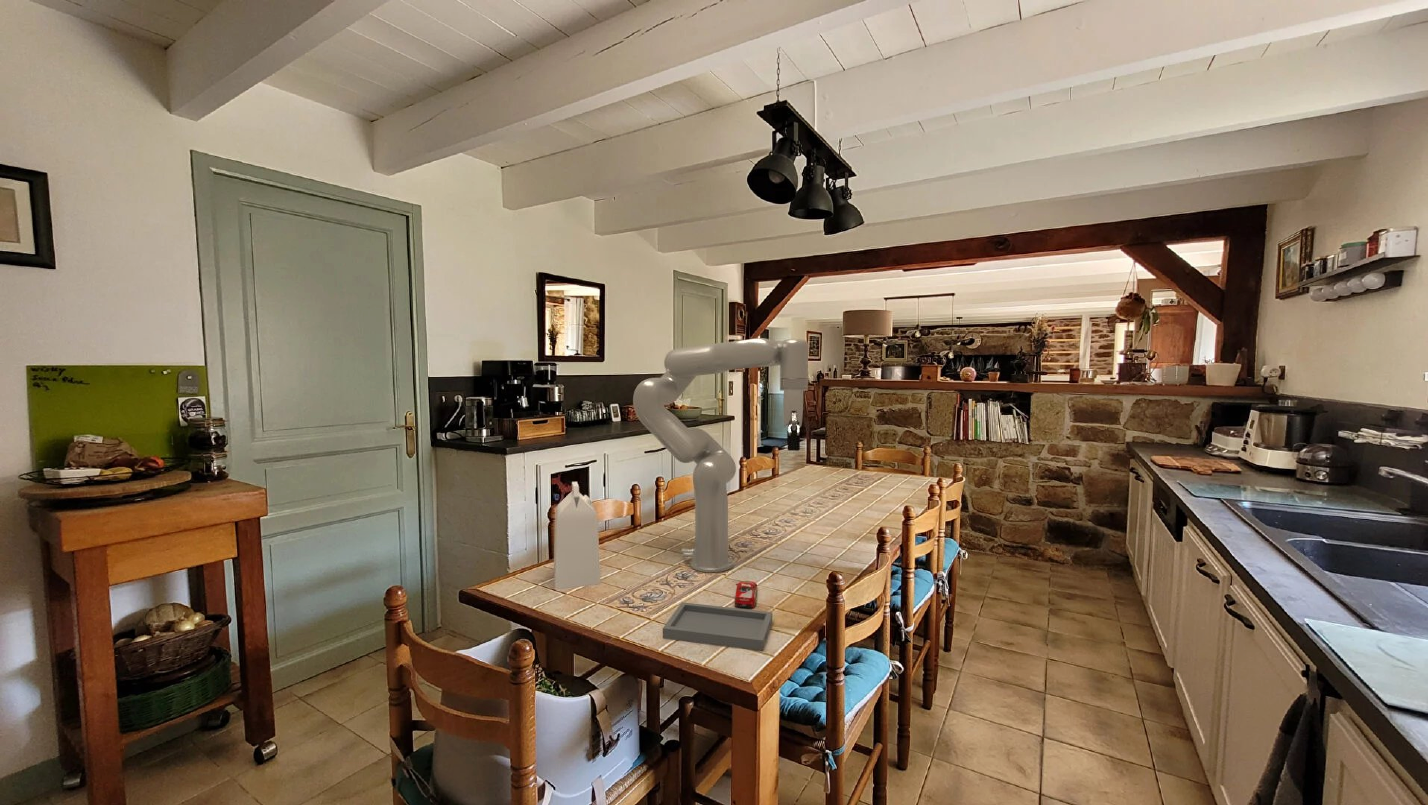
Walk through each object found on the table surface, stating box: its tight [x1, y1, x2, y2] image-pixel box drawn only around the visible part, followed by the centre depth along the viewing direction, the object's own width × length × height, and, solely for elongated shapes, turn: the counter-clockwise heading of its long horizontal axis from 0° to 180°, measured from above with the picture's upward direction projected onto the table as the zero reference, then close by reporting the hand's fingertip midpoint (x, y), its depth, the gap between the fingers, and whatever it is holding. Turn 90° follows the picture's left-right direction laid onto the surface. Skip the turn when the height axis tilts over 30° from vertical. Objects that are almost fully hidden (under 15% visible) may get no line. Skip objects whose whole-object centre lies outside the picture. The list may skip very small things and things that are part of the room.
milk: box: [553, 481, 601, 591], centre depth 149 cm, size 12×12×26 cm
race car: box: [734, 580, 758, 608], centre depth 138 cm, size 13×5×4 cm, turn 172°
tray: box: [662, 601, 773, 652], centre depth 121 cm, size 21×13×2 cm, turn 76°
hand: (793, 447), depth 151 cm, fingers open, 9 cm apart
